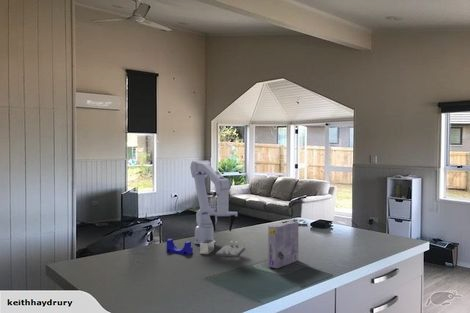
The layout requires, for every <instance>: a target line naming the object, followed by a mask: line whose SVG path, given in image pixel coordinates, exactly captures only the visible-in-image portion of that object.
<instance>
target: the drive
mask: <svg viewBox="0 0 470 313" xmlns="http://www.w3.org/2000/svg"><path fill="white" fill-rule="evenodd" d="M214 241H215V239H213V240H209V239H206V240H205V241H203V242H201V243H200V244H199V254H202V255H209V254H210V253H212V252H213V251H214V250H215V243H214Z"/></svg>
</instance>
